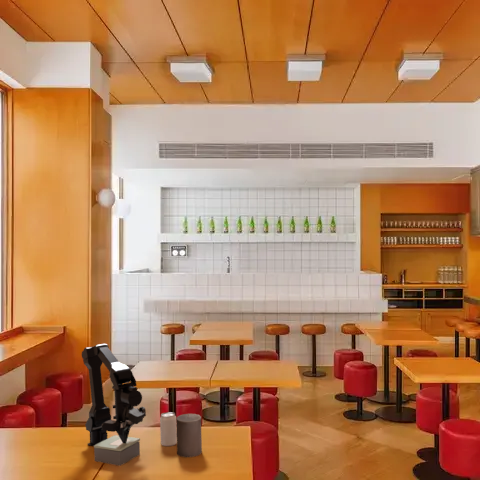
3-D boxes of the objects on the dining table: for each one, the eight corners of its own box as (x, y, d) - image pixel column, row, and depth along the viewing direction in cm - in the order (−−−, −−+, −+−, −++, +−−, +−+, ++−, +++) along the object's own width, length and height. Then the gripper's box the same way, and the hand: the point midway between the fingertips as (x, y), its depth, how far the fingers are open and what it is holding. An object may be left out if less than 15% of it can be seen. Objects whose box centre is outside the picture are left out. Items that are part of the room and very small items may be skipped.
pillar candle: (171, 453, 222) (170, 414, 222) (190, 446, 229) (189, 408, 229) (188, 459, 215) (187, 419, 215) (207, 452, 222) (206, 413, 222)
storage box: (94, 461, 216) (94, 447, 216) (115, 450, 227) (114, 437, 227) (120, 465, 211) (119, 452, 211) (139, 454, 222) (139, 441, 222)
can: (174, 447, 229) (173, 417, 229) (158, 446, 230) (157, 416, 230) (178, 441, 235) (178, 412, 235) (163, 440, 236) (163, 411, 236)
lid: (94, 447, 216) (93, 445, 216) (114, 437, 227) (114, 434, 227) (119, 451, 211) (119, 448, 211) (140, 440, 222) (139, 438, 222)
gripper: (124, 410, 206) (126, 453, 205) (154, 396, 222) (156, 437, 222) (99, 407, 211) (101, 450, 210) (131, 394, 227) (133, 434, 227)
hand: (124, 443), depth 217 cm, fingers closed, pressing on lid
